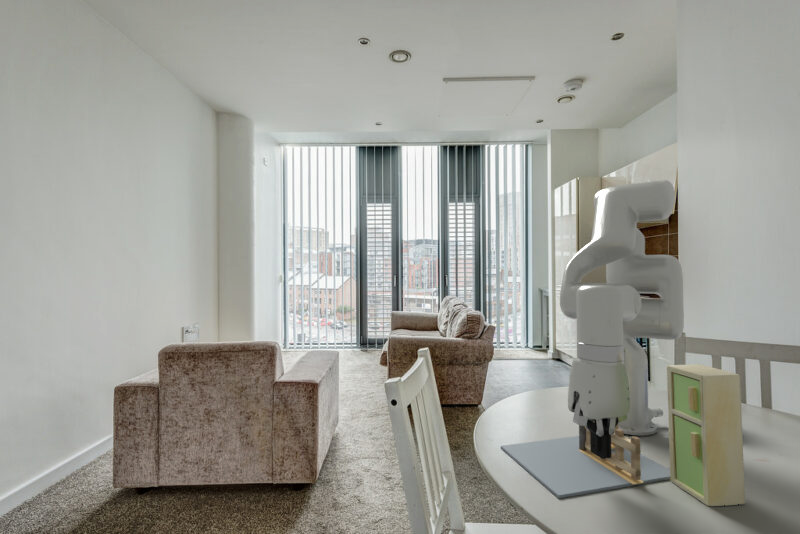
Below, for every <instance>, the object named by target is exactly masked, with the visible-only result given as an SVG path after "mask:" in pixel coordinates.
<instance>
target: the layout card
mask: <svg viewBox="0 0 800 534" xmlns="http://www.w3.org/2000/svg"><path fill="white" fill-rule="evenodd" d="M500 449H501V450H502V451H503V452H504V453H506V454H507V455H508V456H509V457H510V458H511V459H512V460H514V461H515V462H516V463H517V464H518V465H519V466H521V467H522V468H523V469H524V470H525V471H526V472H527V473H529V474H530V476H532V477H533V478H534V479H535V480H537V481H538V483H540V484H541V485H542V486H544V488H546V489H547V490H548V491H549V492H550V493H552V494H553V495H554V496H555V497H556V498H557V499H562V498H567V497H568V498H569V497H574V496H580V495H587V494H592V493H597V492H603V491H604V492H605V491H609V490H610V491H611V490H616V489H620V488H625V487H626V488H627V487H631V486H632V487H633V486H638V485H643V484H651V483H656V482H660V481H667V480H671V477H670V467H669V468H668V467H667V466H664V465H663V464H662V463H659V462H657V461H655V460H653V459H651V458H649V457H648V456H646V455H643V454H642V453H640V469H641V480H635V479H633V478H631V474H630V473H628V472H626V471H625V470H618V469H616V468H615V465H614V464H613V463H611V462H609V461H603V460H601V459H600V457H598V456H597V455H595V454H593V453H592V452H588V451H583V450H580V449H579V435H576V436H566V437H559V438H551V439H544V440H538V441H537V440H536V441H530V442H529V441H527V442H522V443H521V442H520V443H514V444H505V445H500ZM611 453H613V454H615V446H614V445H612V444H611ZM624 460H625V461H627V462H629V463H631V452H630V451H628V450H626V449H624Z"/></svg>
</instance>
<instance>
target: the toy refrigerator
mask: <svg viewBox="0 0 800 534" xmlns="http://www.w3.org/2000/svg"><path fill="white" fill-rule="evenodd" d="M666 381H667V382H666V383H667V411H668V416H667V417H668V442H669V443H668V445H669V469H670V477H671V479H670V482H671V483H673V484H674V485H676V486H677V487H679V488H680V489H682V490H683V491H685V492H686V493H688V494H689V495H690V496H692V497H694V498H695V499H697V500H698V501H700V502H701V503H703V504H704V505H706V506H707V507H721V506H722V507H723V506H724V505H725V506H738V504H739V505H745V503H746V494H745V493H746V491H745V487H746V486H745V467H744V466H745V465H744V464H745V463H744V444H743V443H744V440H743V437H744V435H743V417H742V416H743V415H742V413H743V412H742V411H743V410H742V393H741V392H742V389H741V376H740V375H739V374H738V373H735V372H731V371H728V370H723V369H720V368H715V367H711V366H707V365H705V364H698V363H697V364H696V363H694V364H672V365H670V364H668V365H667V366H666Z"/></svg>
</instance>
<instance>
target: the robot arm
mask: <svg viewBox="0 0 800 534" xmlns="http://www.w3.org/2000/svg"><path fill="white" fill-rule="evenodd" d="M675 203H676V191H675V188H674V185H673V183H672V182H670V180H667V179H664V180H663V179H662V180H654V181H653V180H652V181H645V182H638V183H637V182H635V183H629V184H621V185H613V186H609V187H606V188H602V189H601V190H598V191H597V192H596V193H595V194H594V196H593V207H594V215H593V216H594V217H593V224H592V233H591V238H590V239H591V241H590V242H589V243H587V244H586V245H584V246H583V247H582V248H581V249H580V250H578V251H577V252H576V253H575V254H574V255H573V257H572V258H571V259H570V260H569V261H568V263H567V264H566V267H565V268H564V271H563V275H562V281H561V286H560V292H559V306H560V310H561V312H562V314H563V315H564V316H565V317H567V318H569V319H573V320H576V358H573V359H572V363H571V367H570V371H569V378H568V379H569V380H568V389H567V390H568V391H567V392H568V393H567V407H568V410H569V411H570V412H571V413H573V418H572V421H573V423H575V424H576V425H578V426H579V425H581V426H586V428H587V430H589V431H590V448H591V452H592V453H593V454H595V455H597V456H598V457H600V458H602V459H606V458H611V435H613V434H614V432H615V427H616V426H617V424H618V429H621V430H623V431H624V435H629V436H636V437H639V436H641V437H644V436H651V435H654V434H655V433H656V432H657V425H656V424H655V422H653V420H652V419H654V418H659V417H663V416H664V411H663V409H661V408H657V407H656V408H650V407H649V383H648V382H649V374H648V373H649V372H648V371H649V370H648V369H649V368H648V365H649V364H648V356H647V354H646V351H645V350H644V348H643V347H642V345H640V343H639V342H638V341H637V340H636V339H635V338H639V339H640V338H641V339H653V340H667V341H668V340H669V341H671V340H672V341H673V340H677V339H679V338H681V336H682V335H683V331H684V326H685V325H684V324H685V313H684V311H685V310H684V309H685V308H684V306H685V305H684V280H683V278H684V277H683V276H684V275H683V269H682V265H681V262H680V261H679V260H678V258H677V257H675V256H673V255H670V254H646V253H645V251H646V238H645V235H644V234H643V232H641V230H640V229H639V228H638V227H637V224H638V223H641V222H653V221H654V222H657V221H665V220H667V219H668V218H670V216H671V214H672V212H673V210H674V207H675ZM604 266H605V267H606V269H605V277H606V278H605V279H606V282H599V283H598V282H581V281H582V279H583V278H584V277H585V276H586V275H588V274H589V273H591V272H592V271H593V270H595V269H598V268H600V267H604ZM641 294H650V295H651V294H655V295H658V296H659V297H660V298H643V297H641ZM593 421H594V422H593Z"/></svg>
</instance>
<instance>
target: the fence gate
mask: <svg viewBox="0 0 800 534" xmlns="http://www.w3.org/2000/svg"><path fill="white" fill-rule="evenodd" d="M593 422H594V421H593ZM585 428H586V426H585ZM611 442H613V443H615V454H613V453H611V458H606V459H602V458H600V459H601V460H603V461H609V462H611V463H613V464H614V465H615V468H616V469H618V470H625V471H626V472H628V473H630V474H631V478H633V479H635V480H641V469H640V454H642V453H641V452H642V451H641V450H642V449H641V446H642V445H641V439H640V438H639V436H636V435H633V436H630V438H629V437H626V436H625V434H624V431H623V430H621V429H615V432H614V434H613V435H611ZM585 447H586V450H587V451H588V452H591V448H590V431H589V430H587V428H586V441H585ZM624 449H626V450H628V451H630V452H631V463H629V462H627V461H625V460H624Z"/></svg>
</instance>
